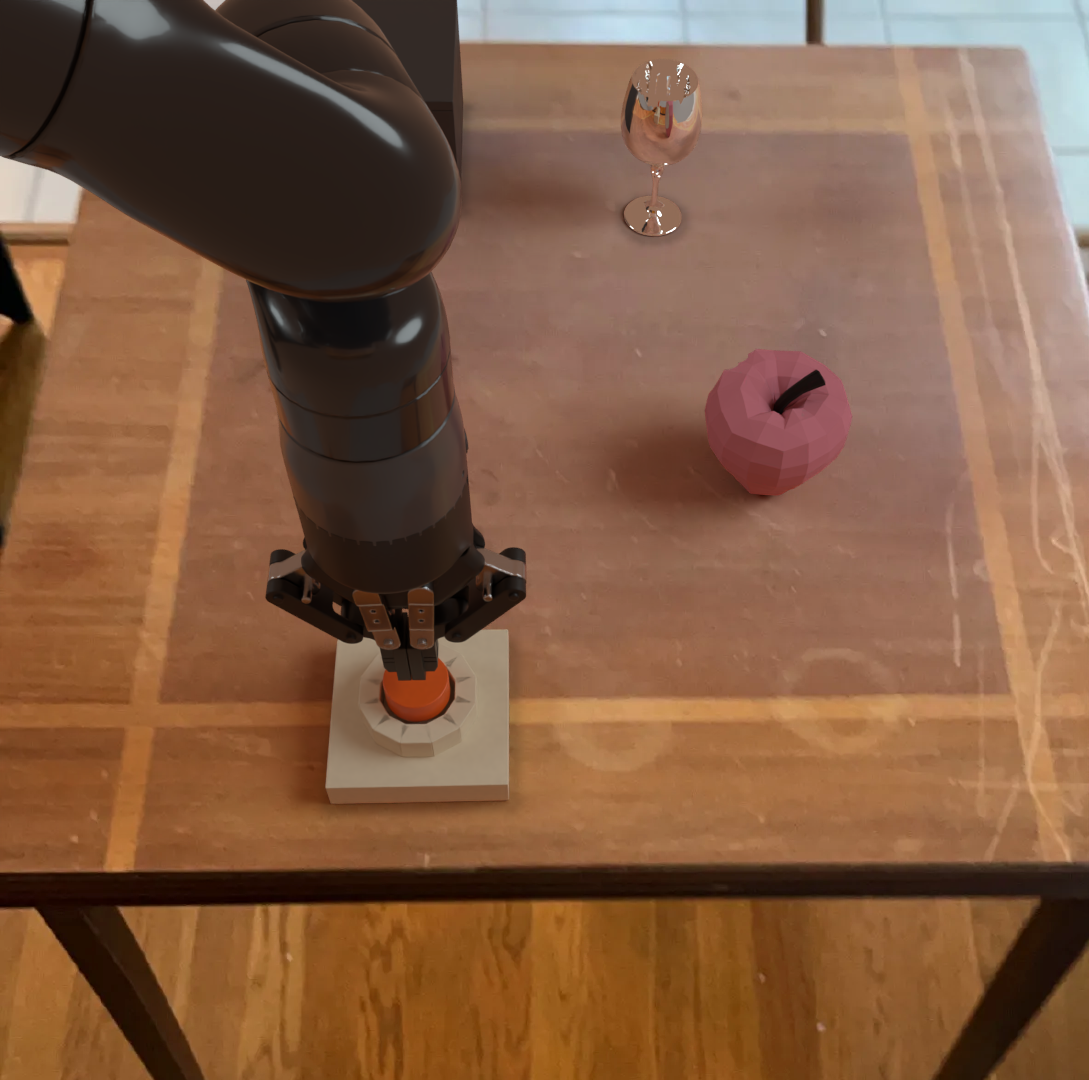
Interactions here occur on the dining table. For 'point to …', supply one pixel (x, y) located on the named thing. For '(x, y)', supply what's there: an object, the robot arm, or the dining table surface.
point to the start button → (418, 694)
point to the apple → (777, 420)
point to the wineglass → (660, 134)
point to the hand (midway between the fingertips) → (413, 665)
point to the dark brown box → (427, 56)
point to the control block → (421, 729)
